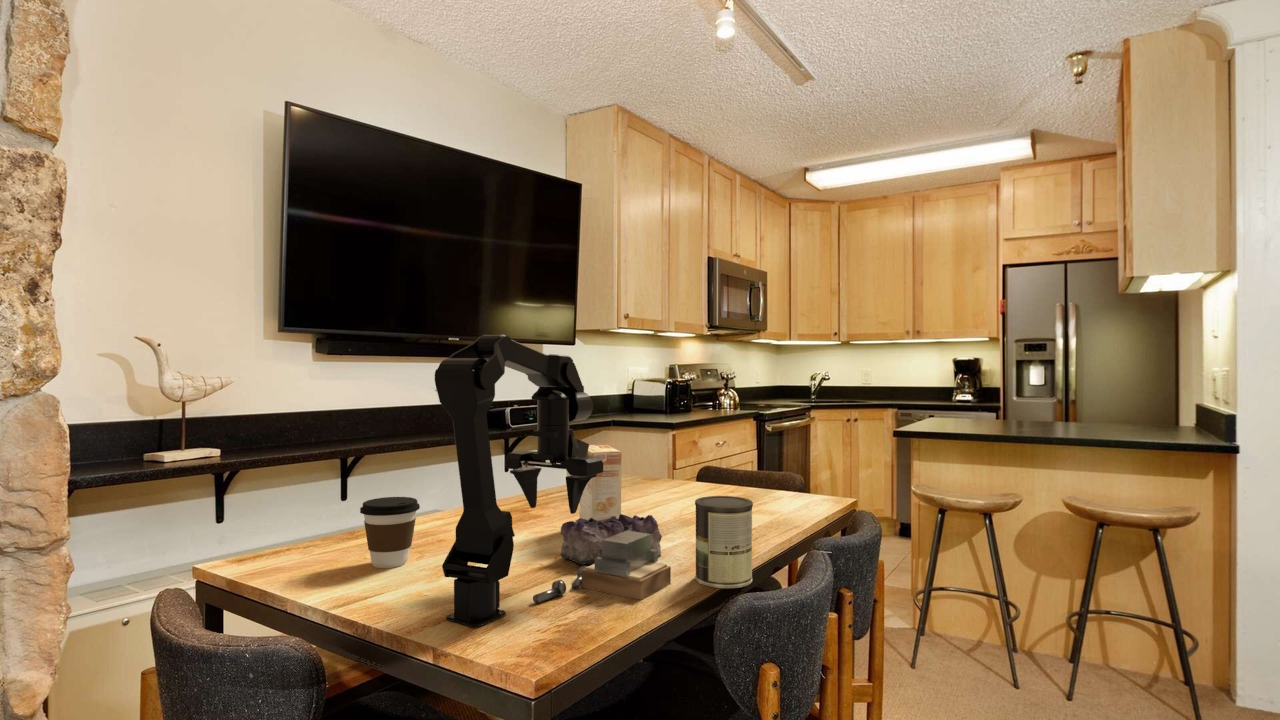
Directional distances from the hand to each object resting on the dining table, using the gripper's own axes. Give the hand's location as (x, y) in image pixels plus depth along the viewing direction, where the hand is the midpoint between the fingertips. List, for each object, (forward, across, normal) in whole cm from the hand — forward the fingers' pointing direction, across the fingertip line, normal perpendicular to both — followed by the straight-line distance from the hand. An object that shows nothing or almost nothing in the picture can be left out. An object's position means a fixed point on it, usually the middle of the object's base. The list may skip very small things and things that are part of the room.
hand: (552, 510), depth 124 cm
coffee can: (+12, -27, -15) cm, 33 cm away
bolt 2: (+12, -7, +1) cm, 14 cm away
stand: (+12, -14, -3) cm, 19 cm away
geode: (+12, -2, -16) cm, 20 cm away
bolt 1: (+12, -7, +10) cm, 17 cm away
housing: (+9, -14, -3) cm, 17 cm away
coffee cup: (+12, +32, +10) cm, 36 cm away
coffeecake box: (+12, +12, -32) cm, 36 cm away
